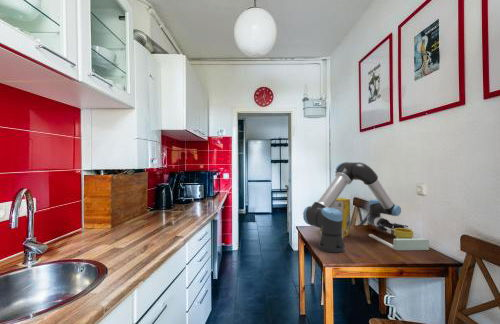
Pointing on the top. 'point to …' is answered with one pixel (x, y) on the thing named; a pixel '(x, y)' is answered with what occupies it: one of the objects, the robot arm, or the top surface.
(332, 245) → the robot arm
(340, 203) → the packaging box
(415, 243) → the guide track
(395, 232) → the plant pot
